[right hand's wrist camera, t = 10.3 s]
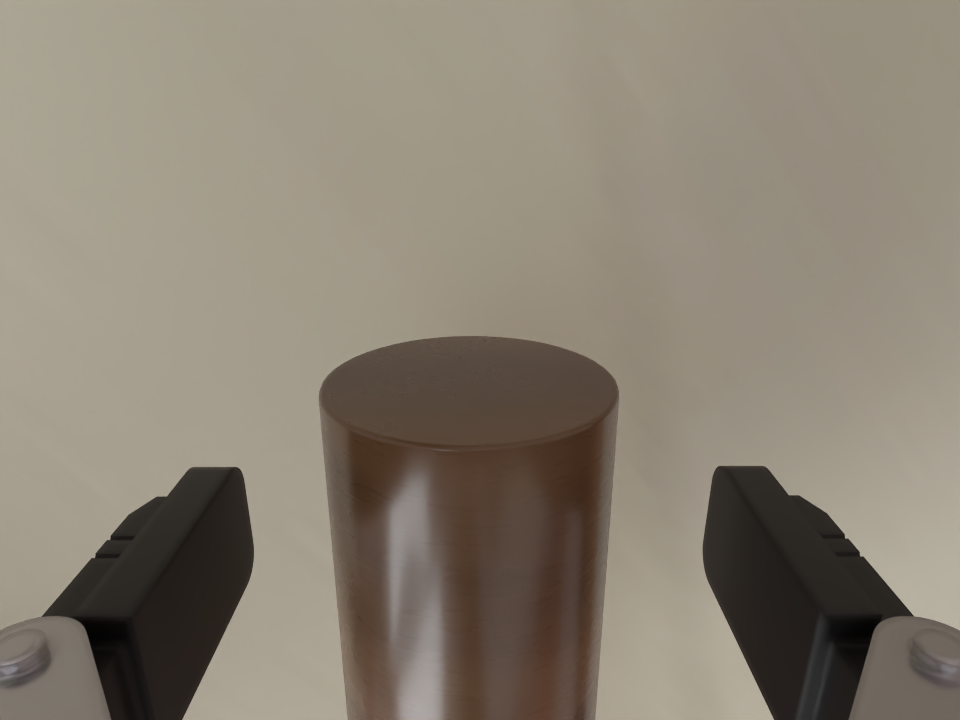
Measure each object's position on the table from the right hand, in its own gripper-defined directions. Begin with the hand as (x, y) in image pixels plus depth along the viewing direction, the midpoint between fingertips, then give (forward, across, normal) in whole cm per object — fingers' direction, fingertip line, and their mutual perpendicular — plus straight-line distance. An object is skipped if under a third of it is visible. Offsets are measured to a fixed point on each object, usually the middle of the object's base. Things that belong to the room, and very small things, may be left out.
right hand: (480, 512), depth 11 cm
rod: (+4, 0, -12) cm, 13 cm away
